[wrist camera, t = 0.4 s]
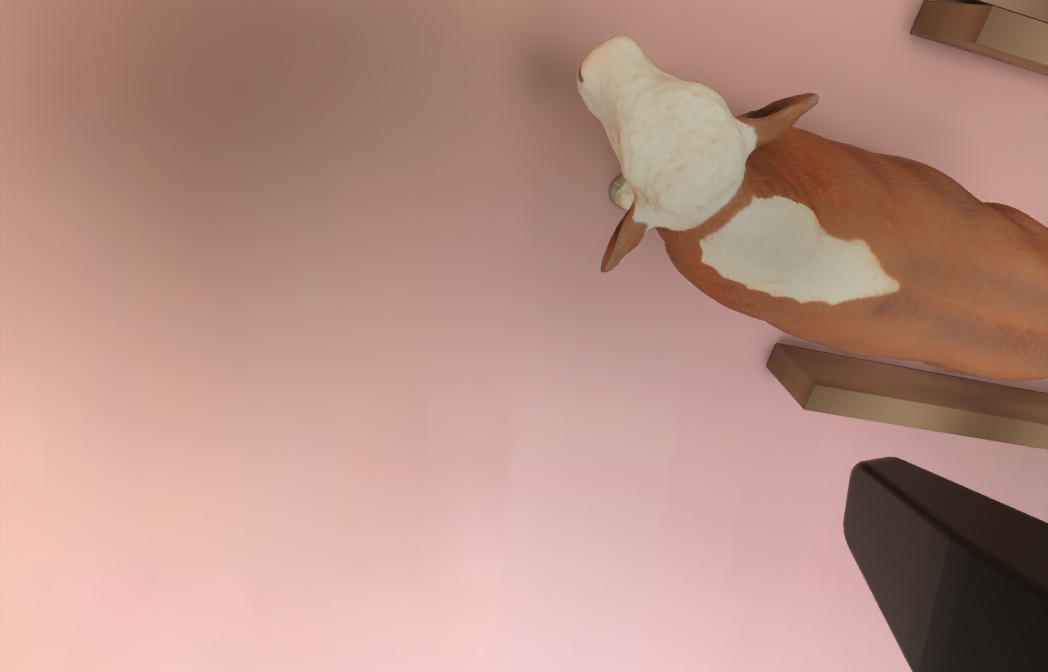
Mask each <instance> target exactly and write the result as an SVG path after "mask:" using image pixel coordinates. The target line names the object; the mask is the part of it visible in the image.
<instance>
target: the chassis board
mask: <svg viewBox="0 0 1048 672" xmlns="http://www.w3.org/2000/svg"><path fill="white" fill-rule="evenodd" d="M956 1H959V2H962V3H952V2H940V1H928V0H925V2H924V4H923V6H922V9H921V11H920V13H919V16H918V18H917V20H916V22H915V25H914V27H913V29H912V32H911V34H914V35H917V36H921V37H924V38H927V39H930V40H934V41H937V42H940V43H944V44H947V45H950V46H953V47H957V48H960V49H963V50H966V51H970V52H973V53H976V54H980V55H983V56H986V57H989V58H993V59H996V60H999V61H1002V62H1006V63H1009V64H1012V65H1016V66H1019V67H1022V68H1025V69H1029V70H1032V71H1035V72H1039V73H1042V74H1045V75H1048V0H956ZM964 3H965V4H964ZM767 368H768V369H769V370H770V371H771V372H772V374H773V375H774V376H775V377H776V378H777V379H778V380H779V382H780V383H781V384H782V385H783V386H784V387H785V388H786V389H787V391H788V392H789V393H790V394H791V395H792V396H793V397H794V399H795V400H796V401H797V402H798V403H799V404H800V405H801V407H802V408H803V409H804V410H810V411H816V412H822V413H828V414H834V415H840V416H846V417H852V418H858V419H865V420H871V421H877V422H883V423H889V424H895V425H901V426H907V427H913V428H919V429H925V430H932V431H938V432H944V433H950V434H956V435H962V436H968V437H974V438H980V439H986V440H992V441H998V442H1005V443H1011V444H1017V445H1023V446H1029V447H1035V448H1041V449H1047V450H1048V394H1045V393H1040V392H1034V391H1029V390H1024V389H1018V388H1013V387H1007V386H1002V385H997V384H991V383H986V382H980V381H975V380H970V379H964V378H959V377H953V376H948V375H943V374H937V373H932V372H926V371H921V370H916V369H910V368H905V367H899V366H894V365H889V364H883V363H878V362H872V361H867V360H862V359H856V358H851V357H845V356H840V355H835V354H829V353H824V352H818V351H813V350H808V349H802V348H797V347H791V346H786V345H781V344H776V346H775V348H774V350H773V353H772V355H771V357H770V360H769V362H768V364H767Z"/></svg>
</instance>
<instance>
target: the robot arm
mask: <svg viewBox="0 0 1048 672" xmlns="http://www.w3.org/2000/svg"><path fill="white" fill-rule="evenodd" d="M843 527H844V535H845V539H846V542H847V544H848V547H849V549H850V551H851V553H852V555H853V557H854V559H855V561H856V563H857V565H858V567H859V569H860V571H861V573H862V575H863V576H864V578H865V580H866V582H867V584H868V586H869V588H870V590H871V592H872V594H873V596H874V598H875V600H876V602H877V604H878V606H879V608H880V610H881V612H882V614H883V616H884V618H885V620H886V622H887V624H888V626H889V628H890V630H891V631H892V633H893V635H894V637H895V639H896V641H897V643H898V645H899V647H900V649H901V651H902V653H903V655H904V657H905V659H906V661H907V662H908V664H909V666H910V668H911V670H912V672H1048V523H1046V522H1044V521H1042V520H1039V519H1037V518H1035V517H1033V516H1030V515H1028V514H1026V513H1023V512H1021V511H1019V510H1016V509H1014V508H1012V507H1010V506H1007V505H1005V504H1003V503H1000V502H998V501H996V500H994V499H991V498H989V497H987V496H984V495H982V494H980V493H977V492H975V491H973V490H971V489H968V488H966V487H964V486H961V485H959V484H957V483H955V482H952V481H950V480H948V479H945V478H943V477H941V476H938V475H936V474H934V473H932V472H929V471H927V470H925V469H922V468H920V467H918V466H916V465H913V464H911V463H909V462H906V461H904V460H902V459H899V458H896V457H885V458H879V459H873V460H867V461H862V462H859V463H857V464H856V465H855V466H854V467H853V469H852V471H851V475H850V480H849V487H848V494H847V500H846V507H845V514H844V521H843Z"/></svg>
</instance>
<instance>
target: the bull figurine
mask: <svg viewBox="0 0 1048 672" xmlns="http://www.w3.org/2000/svg"><path fill="white" fill-rule="evenodd" d="M577 87H578V90H579V93H580V95H581V97H582V99H583V101H584V102H585V104H586V106H587V107H588V109H589V110H590V112H591V113H592V114H593V115H594V116H595V117H596V118H598V119H599V120H600V121H601V123H602V124H603V126H604V129H605V131H606V134H607V136H608V139H609V141H610V143H611V146H612V148H613V150H614V152H615V154H616V156H617V158H618V160H619V162H620V165H621V168H622V173H623V174H622V175H620V176H619V177H618V178H616V179H615V180H614V181H613V183H612V185H611V188H610V199H611V200H612V202H613V203H614V204H615V205H616V206H618V207H619V208H622V209H625V210H628V211H627V213H626V214H625V216H624V217H623V219H622V220H621V222H620V223H619V224H618V226H617V227H616V230H615V232H614V234H613V236H612V237H611V239H610V242H609V244H608V247H607V249H606V252H605V254H604V257H603V260H602V264H601V272H608V271H610V270H612V269H613V268H614V267H615V266H616V265H617V264H618V263H619V261H620V260H621V259H622V258H623V257H624V256H625V255H626V254H627V253H628V252H630V251H631V250H632V249H633V248H634V247H636V246H637V245H638V243H639V242H640V241H641V239H642V238H643V236H644V235H645V234H646V232H647V231H648V230H650V229H652V228H654V227H655V228H656V229H657V231H658V232H659V234H660V236H661V237H662V239H663V240H664V242H665V246H666V250H667V253H668V255H669V257H670V259H671V261H672V262H673V264H674V265H675V267H676V268H677V269H678V271H679V272H680V273H681V274H682V275H683V276H684V277H685V278H687V279H688V280H689V281H690V282H691V283H692V284H694V285H695V286H696V287H697V288H698V289H699V290H701V291H702V292H704V293H705V294H706V295H708V296H709V297H711V298H713V299H714V300H716V301H717V302H719V303H721V304H722V305H724V306H726V307H728V308H730V309H732V310H735V311H738V312H740V313H743V314H745V315H748V316H751V317H754V318H757V319H760V320H763V321H766V322H767V323H769V324H771V325H773V326H775V327H776V328H778V329H780V330H782V331H784V332H785V333H788V334H790V335H793V336H795V337H798V338H801V339H805V340H808V341H811V342H814V343H818V344H821V345H824V346H827V347H829V348H832V349H835V350H838V351H842V352H846V353H851V354H857V355H862V356H869V357H879V358H890V359H901V360H911V361H921V362H923V363H925V364H927V365H930V366H933V367H936V368H939V369H943V370H946V371H951V372H955V373H961V374H967V375H973V376H979V377H985V378H993V379H1003V380H1035V379H1044V378H1048V228H1047V227H1045V226H1044V225H1042V224H1041V223H1039V222H1037V221H1036V220H1034V219H1033V218H1031V217H1030V216H1028V215H1027V214H1025V213H1023V212H1021V211H1019V210H1017V209H1015V208H1012V207H1010V206H1007V205H1003V204H998V203H989V202H986V203H983V202H981V201H980V200H978V199H977V198H976V197H974V196H973V195H972V194H970V193H969V192H968V191H967V190H966V189H964V188H963V187H962V186H961V185H960V184H958V183H957V182H956V181H954V180H953V179H952V178H950V177H949V176H947V175H946V174H944V173H942V172H940V171H938V170H936V169H934V168H932V167H930V166H928V165H925V164H923V163H920V162H917V161H913V160H910V159H906V158H902V157H897V156H891V155H884V154H878V153H872V152H869V151H866V150H863V149H860V148H857V147H854V146H851V145H848V144H844V143H839V142H835V141H831V140H827V139H825V138H822V137H820V136H818V135H815V134H813V133H810V132H807V131H804V130H801V129H797V128H794V127H791V126H792V125H793V124H794V123H795V122H796V121H797V120H798V118H799V117H800V116H802V115H803V114H804V113H805V112H807V111H808V110H809V109H811V108H812V107H813V106H815V105H816V104H817V103H818V99H819V96H818V95H817V94H813V93H807V94H803V95H796V96H792V97H788V98H785V99H781V100H779V101H776V102H773V103H771V104H769V105H767V106H766V107H764V108H762V109H759V110H757V111H751V112H748V113H745V114H743V115H740V116H738V117H733V115H732V113H731V111H730V109H729V107H728V105H727V103H726V101H725V99H724V98H723V97H722V96H721V95H720V94H718V93H717V92H715V91H714V90H712V89H711V88H709V87H708V86H706V85H705V84H702V83H699V82H694V81H683V80H681V79H679V78H677V77H675V76H673V75H670V74H668V73H666V72H663V71H661V70H660V69H658V68H657V67H656V66H655V65H654V64H653V63H652V61H651V60H650V59H649V57H648V56H647V55H646V53H645V52H644V51H643V50H642V48H641V47H640V46H639V44H638V43H637V42H635V41H634V40H633V39H631V38H629V37H627V36H624V35H617V36H615V37H612V38H610V39H609V40H607V41H605V42H604V43H602V44H601V45H599V46H598V47H597V48H595V49H594V50H593V51H592V52H591V53H590V54H589V55H588V56H587V57H586V59H585V60H584V61H583V63H582V64H581V66H580V68H579V71H578V74H577Z"/></svg>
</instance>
